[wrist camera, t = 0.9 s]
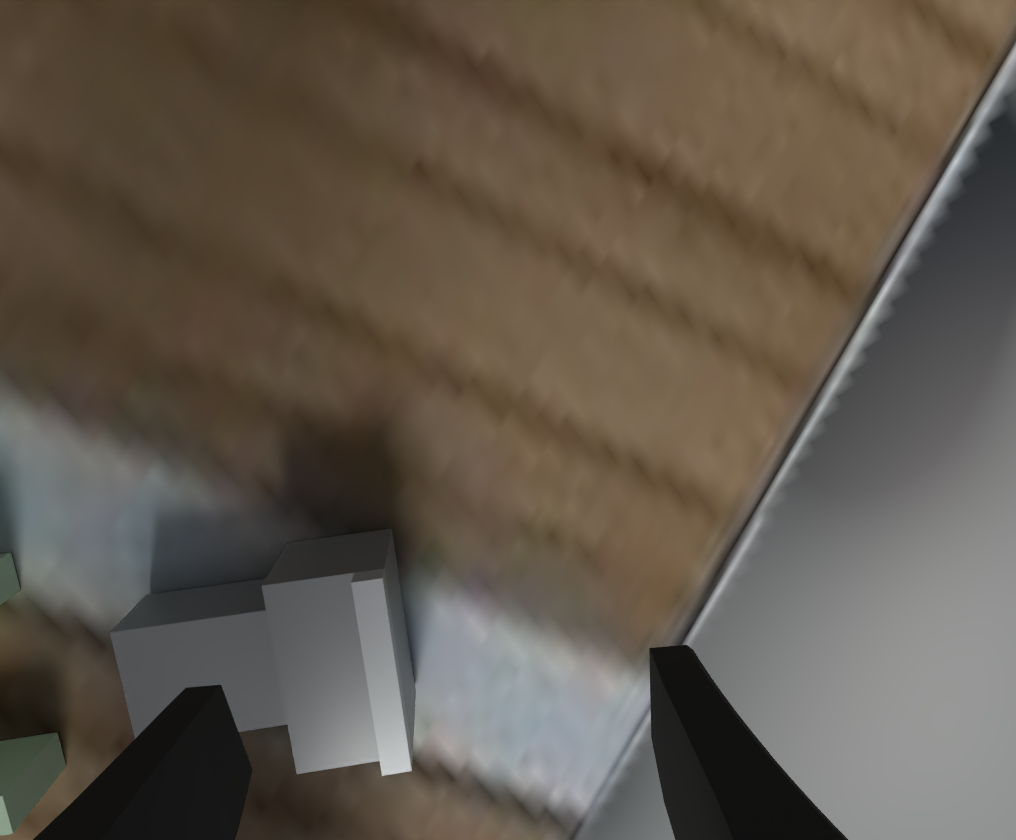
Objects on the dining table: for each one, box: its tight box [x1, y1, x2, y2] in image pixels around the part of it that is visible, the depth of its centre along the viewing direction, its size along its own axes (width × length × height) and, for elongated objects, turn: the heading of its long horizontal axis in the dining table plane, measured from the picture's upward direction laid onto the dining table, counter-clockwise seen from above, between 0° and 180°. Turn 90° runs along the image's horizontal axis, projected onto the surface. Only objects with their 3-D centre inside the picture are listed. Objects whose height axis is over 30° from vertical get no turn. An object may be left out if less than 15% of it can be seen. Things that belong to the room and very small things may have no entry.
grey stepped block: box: [110, 529, 416, 776], centre depth 25 cm, size 7×10×5 cm
